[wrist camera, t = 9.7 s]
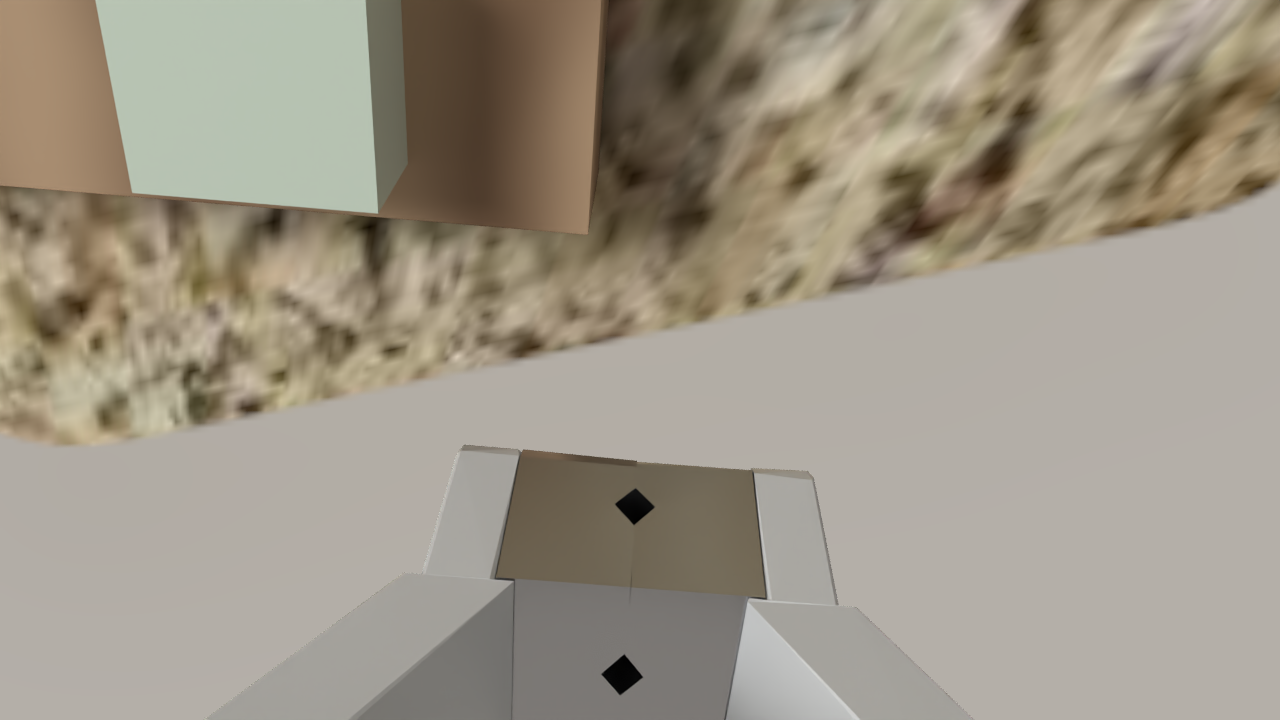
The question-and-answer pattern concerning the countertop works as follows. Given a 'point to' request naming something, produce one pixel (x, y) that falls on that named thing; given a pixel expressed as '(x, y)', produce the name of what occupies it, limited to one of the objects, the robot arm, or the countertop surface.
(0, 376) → the countertop surface
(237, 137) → the tile sage
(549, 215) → the board
